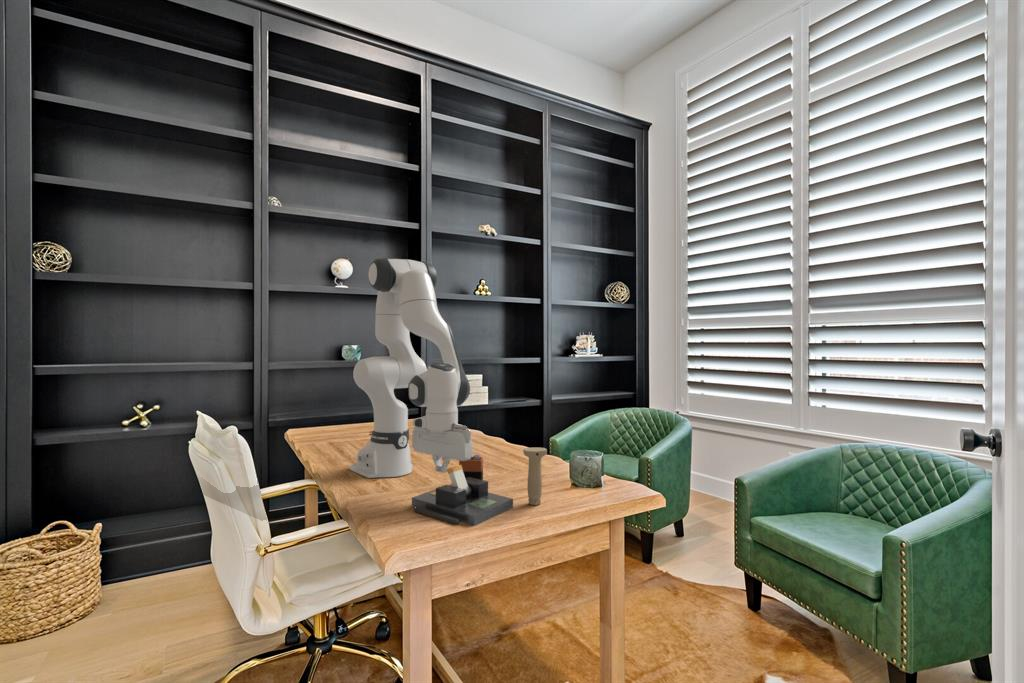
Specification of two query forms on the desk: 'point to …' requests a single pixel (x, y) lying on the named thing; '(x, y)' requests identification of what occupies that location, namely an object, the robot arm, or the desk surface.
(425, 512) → the dark grey flat slab
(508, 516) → the desk surface
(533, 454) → the handle
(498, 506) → the panel
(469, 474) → the battery
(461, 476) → the lever
